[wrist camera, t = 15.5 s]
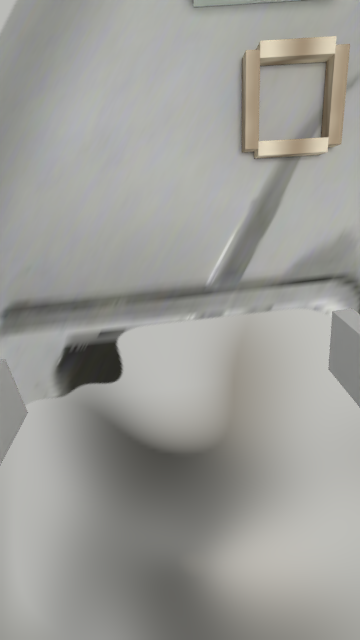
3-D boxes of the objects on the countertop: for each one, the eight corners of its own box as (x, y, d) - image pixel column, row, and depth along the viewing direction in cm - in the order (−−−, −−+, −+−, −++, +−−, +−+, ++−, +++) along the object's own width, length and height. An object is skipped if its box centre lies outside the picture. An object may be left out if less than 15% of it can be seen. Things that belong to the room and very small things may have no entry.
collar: (241, 159, 38) (245, 156, 36) (242, 50, 34) (246, 41, 33) (332, 154, 38) (340, 151, 36) (341, 44, 34) (350, 35, 32)
